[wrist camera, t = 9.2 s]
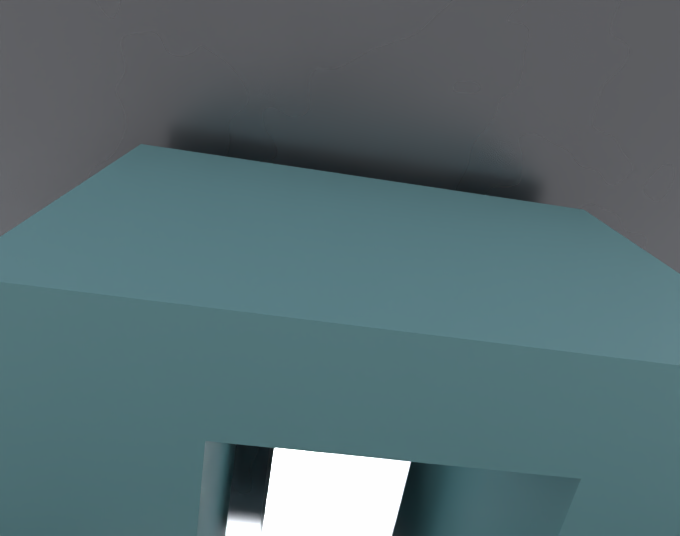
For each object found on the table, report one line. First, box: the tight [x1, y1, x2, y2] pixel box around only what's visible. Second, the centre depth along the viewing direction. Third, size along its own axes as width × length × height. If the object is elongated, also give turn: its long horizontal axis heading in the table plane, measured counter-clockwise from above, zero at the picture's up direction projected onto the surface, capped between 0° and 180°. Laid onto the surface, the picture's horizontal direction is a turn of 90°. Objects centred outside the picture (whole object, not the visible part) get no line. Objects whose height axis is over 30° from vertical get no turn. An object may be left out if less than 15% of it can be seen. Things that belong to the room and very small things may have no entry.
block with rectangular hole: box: [0, 144, 680, 536], centre depth 8 cm, size 9×7×5 cm
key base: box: [0, 0, 680, 536], centre depth 11 cm, size 16×16×4 cm
